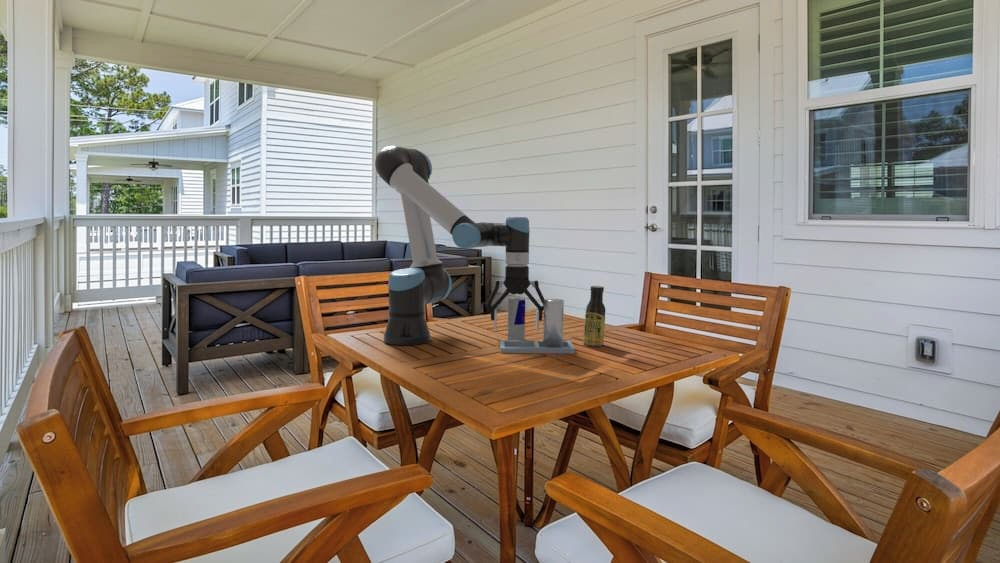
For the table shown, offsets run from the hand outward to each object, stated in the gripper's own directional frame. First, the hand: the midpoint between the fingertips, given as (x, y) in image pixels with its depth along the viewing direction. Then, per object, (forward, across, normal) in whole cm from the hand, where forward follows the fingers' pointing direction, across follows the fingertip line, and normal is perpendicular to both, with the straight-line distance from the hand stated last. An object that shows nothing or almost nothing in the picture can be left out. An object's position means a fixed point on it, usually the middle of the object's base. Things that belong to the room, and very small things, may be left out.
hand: (516, 330), depth 177 cm
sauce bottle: (+4, +24, -6) cm, 26 cm away
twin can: (+3, +11, -12) cm, 16 cm away
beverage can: (+4, 0, 0) cm, 4 cm away
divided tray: (+4, +6, -12) cm, 14 cm away
